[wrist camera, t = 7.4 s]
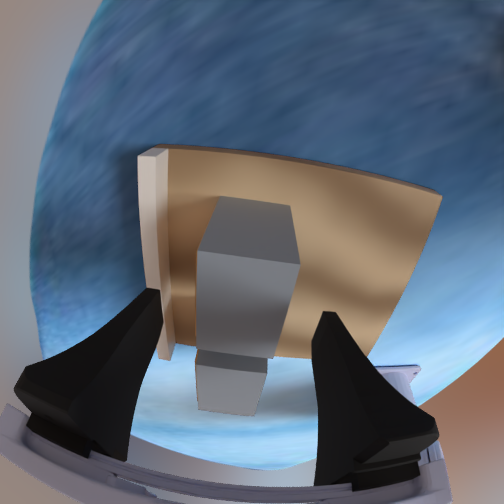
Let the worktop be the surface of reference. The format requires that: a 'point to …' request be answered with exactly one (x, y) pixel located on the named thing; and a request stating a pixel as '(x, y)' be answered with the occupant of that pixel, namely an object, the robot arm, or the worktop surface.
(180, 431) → the worktop surface
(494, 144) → the worktop surface
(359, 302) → the shelf board
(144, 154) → the rail
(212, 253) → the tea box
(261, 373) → the faced box
